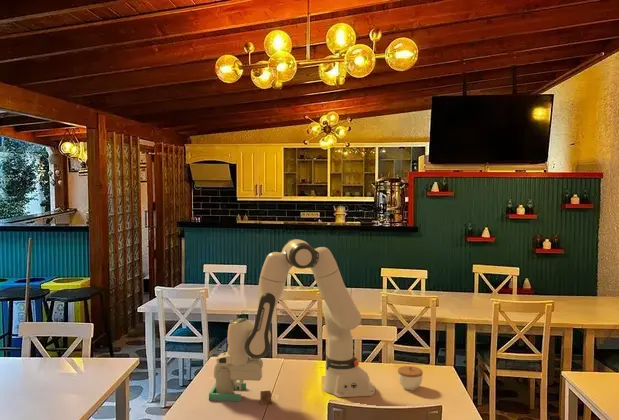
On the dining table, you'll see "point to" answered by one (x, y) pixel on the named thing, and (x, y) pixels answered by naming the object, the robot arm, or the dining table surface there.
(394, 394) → the dining table surface
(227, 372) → the can
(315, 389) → the dining table surface
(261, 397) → the walnut block
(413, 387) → the lidded jar
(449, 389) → the dining table surface
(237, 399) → the corral
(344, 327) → the robot arm
